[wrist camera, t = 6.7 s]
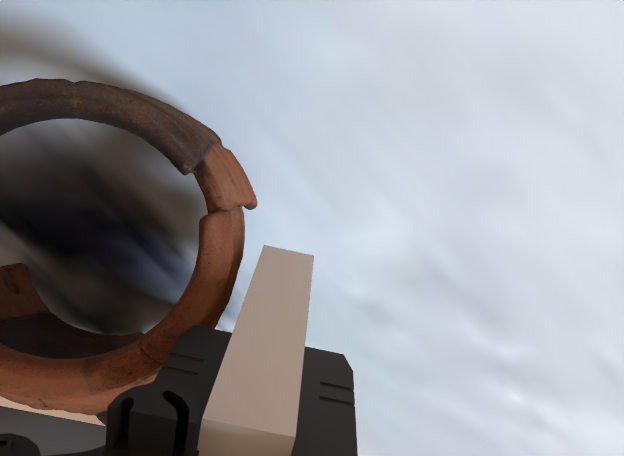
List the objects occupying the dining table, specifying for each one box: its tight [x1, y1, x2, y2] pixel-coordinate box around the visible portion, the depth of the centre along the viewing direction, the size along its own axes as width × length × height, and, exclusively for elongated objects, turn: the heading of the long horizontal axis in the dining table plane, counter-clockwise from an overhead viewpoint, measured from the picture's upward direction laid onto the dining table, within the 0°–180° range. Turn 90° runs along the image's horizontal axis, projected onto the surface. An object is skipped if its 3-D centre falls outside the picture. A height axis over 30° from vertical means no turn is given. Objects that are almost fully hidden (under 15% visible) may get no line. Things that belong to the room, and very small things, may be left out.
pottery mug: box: [0, 78, 257, 427], centre depth 14 cm, size 12×10×8 cm
